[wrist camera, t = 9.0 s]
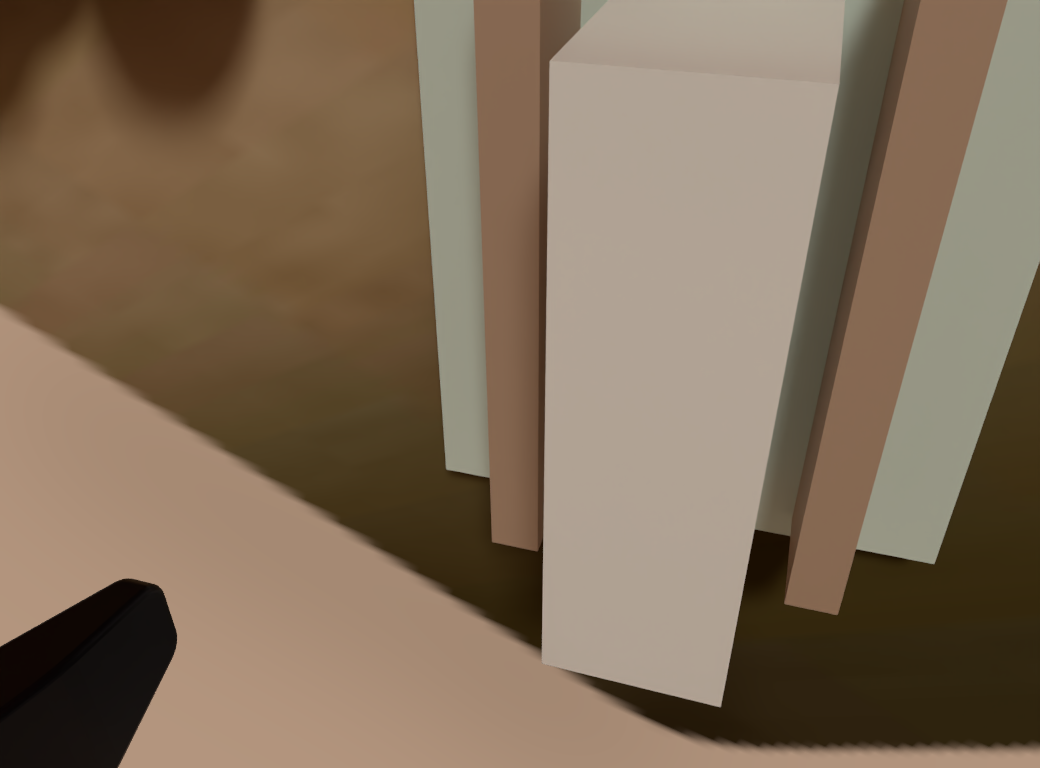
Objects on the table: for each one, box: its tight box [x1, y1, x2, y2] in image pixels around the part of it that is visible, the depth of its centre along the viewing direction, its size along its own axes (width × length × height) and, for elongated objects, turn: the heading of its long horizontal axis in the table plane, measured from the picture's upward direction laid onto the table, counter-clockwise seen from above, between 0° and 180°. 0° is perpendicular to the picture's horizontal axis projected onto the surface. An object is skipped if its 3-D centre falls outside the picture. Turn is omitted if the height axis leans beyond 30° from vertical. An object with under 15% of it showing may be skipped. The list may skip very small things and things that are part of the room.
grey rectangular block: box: [542, 0, 845, 707], centre depth 15 cm, size 3×10×6 cm, turn 179°
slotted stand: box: [414, 0, 1040, 615], centre depth 17 cm, size 11×13×4 cm
